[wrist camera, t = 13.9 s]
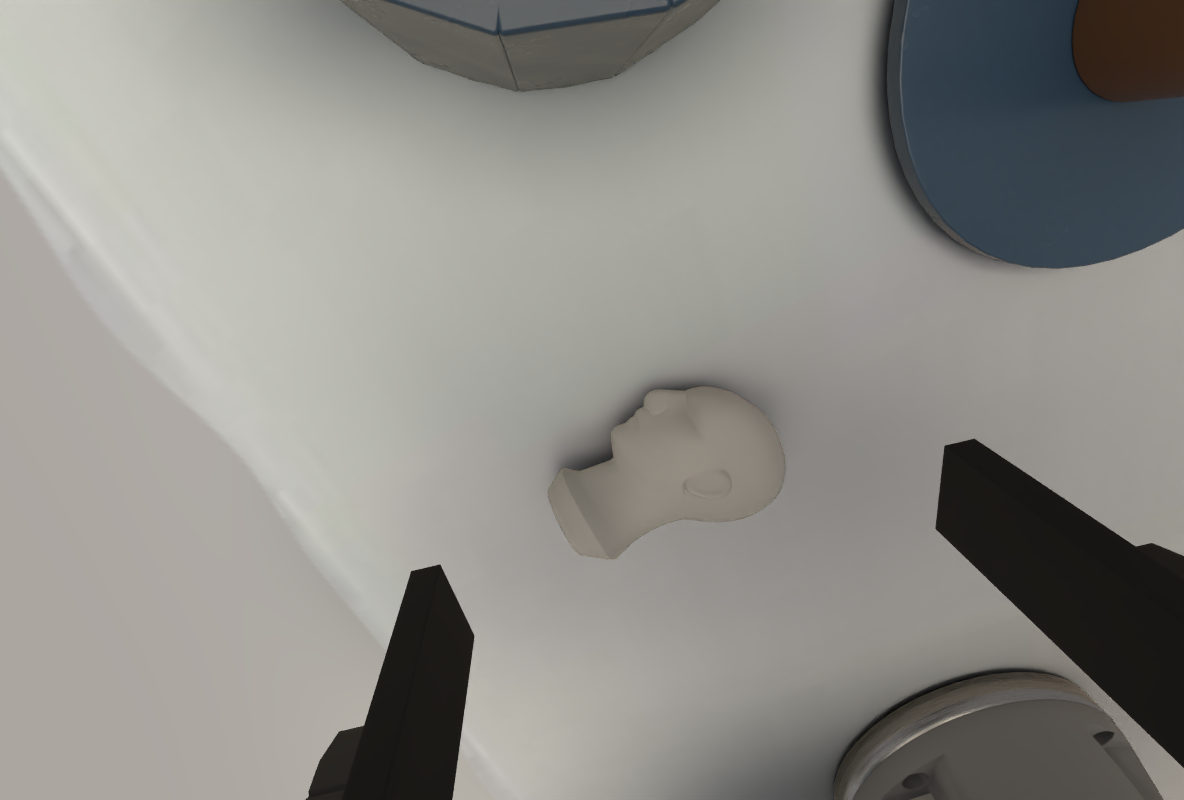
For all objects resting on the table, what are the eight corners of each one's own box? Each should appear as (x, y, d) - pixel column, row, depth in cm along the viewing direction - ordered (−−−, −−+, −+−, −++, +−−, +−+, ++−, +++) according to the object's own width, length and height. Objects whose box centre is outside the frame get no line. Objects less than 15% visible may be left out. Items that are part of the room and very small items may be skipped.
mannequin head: (736, 355, 19) (771, 480, 20) (533, 418, 19) (574, 541, 20) (781, 362, 15) (822, 522, 16) (519, 443, 15) (572, 598, 16)
